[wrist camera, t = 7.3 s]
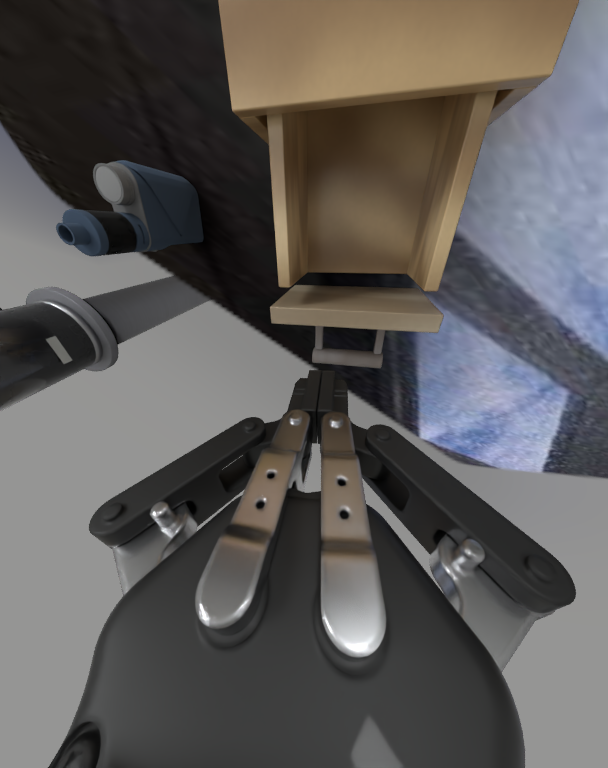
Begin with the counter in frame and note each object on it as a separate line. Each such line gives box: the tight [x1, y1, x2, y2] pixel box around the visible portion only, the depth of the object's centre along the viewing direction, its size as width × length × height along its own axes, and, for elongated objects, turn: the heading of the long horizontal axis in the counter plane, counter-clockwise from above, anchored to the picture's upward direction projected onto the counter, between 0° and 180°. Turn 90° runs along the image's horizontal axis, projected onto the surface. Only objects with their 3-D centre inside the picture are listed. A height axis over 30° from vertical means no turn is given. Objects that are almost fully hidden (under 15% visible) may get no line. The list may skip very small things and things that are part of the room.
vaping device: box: [56, 160, 204, 256], centre depth 17 cm, size 3×5×12 cm, turn 173°
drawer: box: [267, 90, 498, 368], centre depth 16 cm, size 19×11×8 cm, turn 0°
